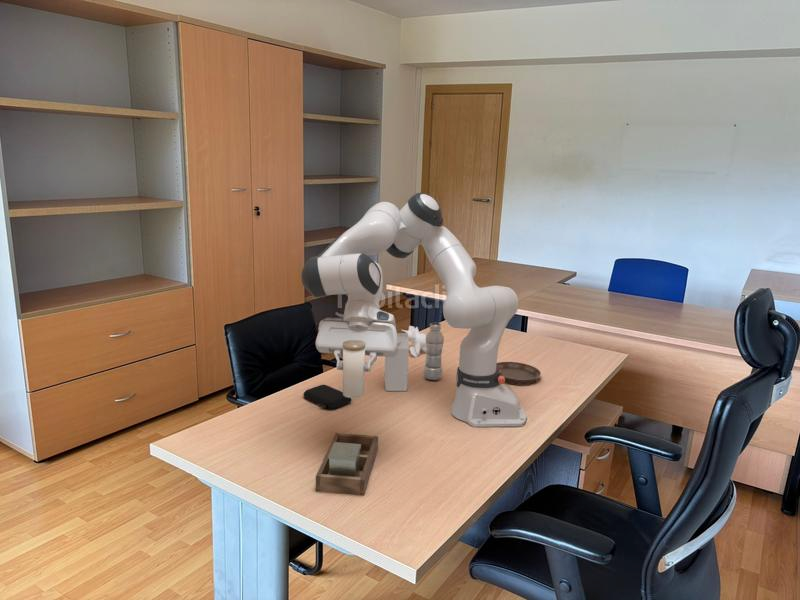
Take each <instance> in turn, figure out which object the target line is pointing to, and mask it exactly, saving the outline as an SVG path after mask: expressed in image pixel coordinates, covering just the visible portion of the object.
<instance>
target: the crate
mask: <svg viewBox="0 0 800 600" xmlns="http://www.w3.org/2000/svg"><path fill="white" fill-rule="evenodd" d="M334 442H340V443H352V444H361V449H360V475H359V477H349V476H338V475H329V459H328V455H329V453H330V451H331V448H332V446H333V444H334ZM378 450H379V436H378V435H368V434H367V435H366V434H353V433H344V432H343V433H342V432H336V433H335V435H334V436H333V439H332V440H331V442H330V445H329V447H328V450H327V451H326V454H325V455H324V458H323V460H322V462H321V464H320V466H319V468H318V471H317V472H316V474H315V492H319V493H329V494H330V493H331V494H340V495H341V494H342V495H351V496H352V495H353V496H365V494H366V491H367V487H368V484H369V480H370V476H371V474H372V471H373V467H374V463H375V461H376V457H377V455H378V454H377V453H378Z"/></svg>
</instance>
